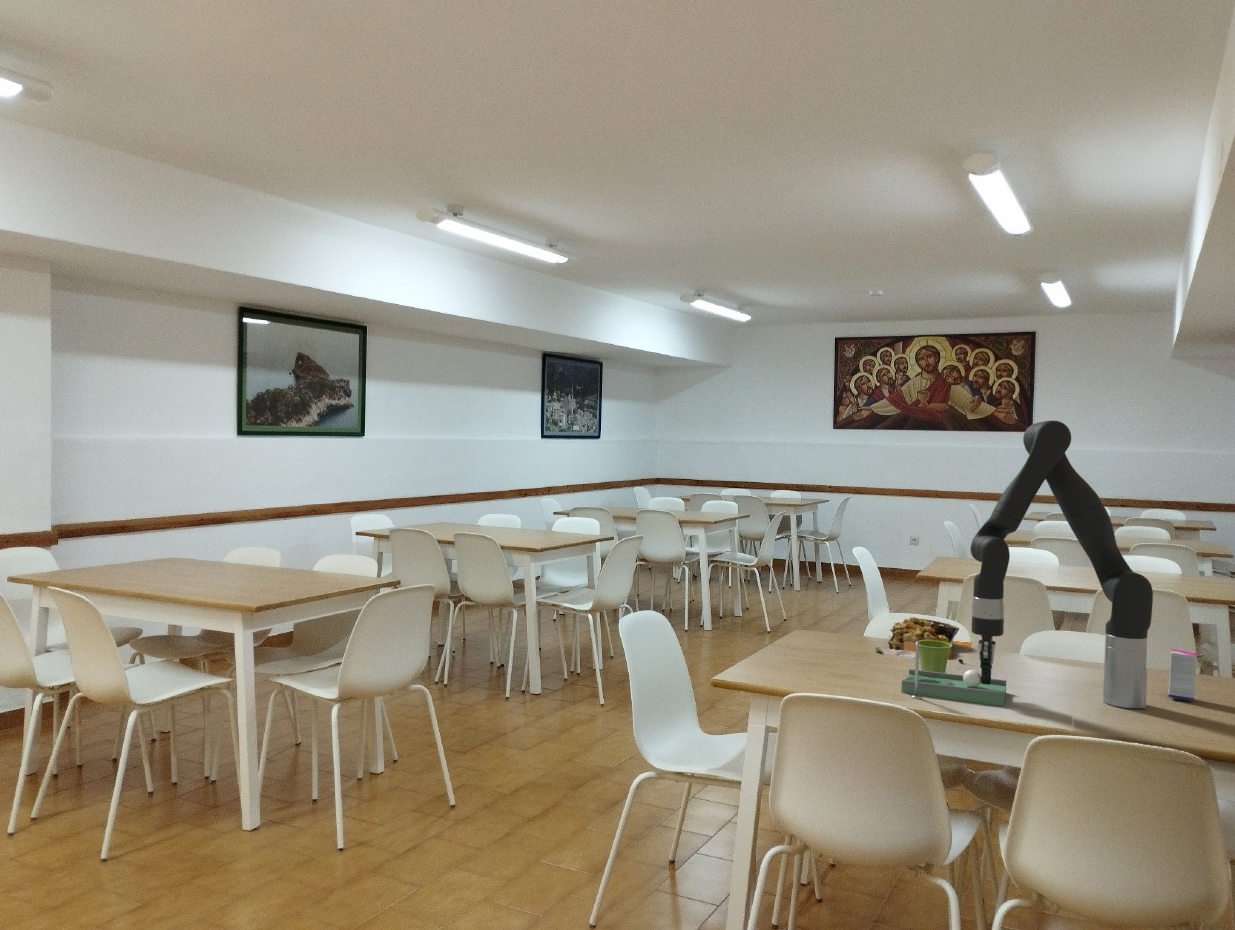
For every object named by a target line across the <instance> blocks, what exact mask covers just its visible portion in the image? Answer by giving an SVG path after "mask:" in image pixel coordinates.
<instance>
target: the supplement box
mask: <svg viewBox="0 0 1235 930" xmlns="http://www.w3.org/2000/svg"><path fill="white" fill-rule="evenodd" d="M1197 656H1198V655H1197V652H1195V651H1189V650H1188V651H1187V650H1179V649H1173V648H1172V649H1171V651H1170V662H1169V664H1170V665H1169V676H1168V678H1169V679H1168V692H1167V693H1168V694H1167V695H1168V696H1167V697H1168V698H1173V699H1181V700H1188V701H1194V700H1195V694H1196V693H1195V691H1196V690H1195V689H1196V679H1197V678H1196V675H1197V673H1196V672H1197V663H1198V662H1197V660H1198V658H1197Z"/></svg>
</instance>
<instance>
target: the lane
mask: <svg viewBox="0 0 1235 930" xmlns="http://www.w3.org/2000/svg"><path fill="white" fill-rule="evenodd" d="M963 675H964V674H954V673H946V672H945V673H939V672H931V671H922V670H921V669H919V671H918V695H920V696H924V695H926V697H932V698H933V697H934V698H939V699H940V698H941V699H946V700H953V701H960V700H961V701H962V702H969V703H977V704H983V703H986V705H993V706H999V707H1004V706H1005V699H1006V695H1007V680H1006V679H999V678H991V684H990V685H986V684H982V683H980V685H979V686H977V687H969V686H967V685H966V684H965V683H964V681H963ZM900 691H901V693H903V692H904V693H905V694H910V695H914V691H915V668H908V675H907V676H906V678H905V679H901V689H900ZM961 701H960V702H961Z"/></svg>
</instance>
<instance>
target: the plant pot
mask: <svg viewBox="0 0 1235 930" xmlns="http://www.w3.org/2000/svg"><path fill="white" fill-rule="evenodd" d="M917 642H919V655H920V658H919V664H920V670H922V671H931V672H939V673H946V670H947V664H948V660H949V659H948V655H949V652H950V649H951V650H952V648H953V647H952V646H953V644H950V643H947V642H942V641H935V640H921V641H917Z"/></svg>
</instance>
